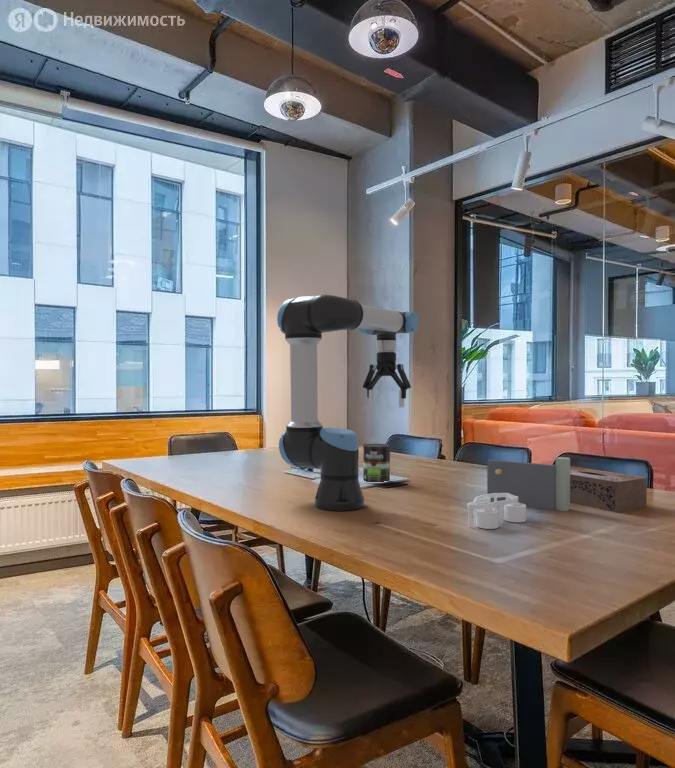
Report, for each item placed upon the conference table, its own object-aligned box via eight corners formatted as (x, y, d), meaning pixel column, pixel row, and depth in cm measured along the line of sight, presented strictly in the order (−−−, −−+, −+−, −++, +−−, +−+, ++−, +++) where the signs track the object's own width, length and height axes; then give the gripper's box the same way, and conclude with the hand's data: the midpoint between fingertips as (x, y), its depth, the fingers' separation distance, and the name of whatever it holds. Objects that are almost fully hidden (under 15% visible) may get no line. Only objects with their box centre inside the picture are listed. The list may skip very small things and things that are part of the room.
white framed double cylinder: (484, 537, 143) (484, 508, 143) (451, 528, 152) (451, 500, 152) (534, 525, 155) (534, 498, 155) (501, 517, 164) (501, 491, 164)
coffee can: (387, 485, 212) (387, 447, 212) (360, 483, 215) (360, 446, 215) (392, 480, 222) (392, 443, 221) (366, 479, 225) (366, 443, 224)
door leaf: (563, 517, 163) (563, 460, 163) (484, 506, 176) (484, 454, 176) (571, 511, 170) (571, 457, 170) (495, 501, 184) (495, 451, 184)
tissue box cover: (542, 500, 186) (542, 469, 186) (571, 496, 194) (571, 466, 194) (617, 517, 164) (617, 482, 164) (646, 511, 172) (646, 477, 172)
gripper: (419, 351, 219) (419, 407, 219) (364, 353, 233) (364, 405, 234) (409, 350, 213) (409, 408, 213) (354, 352, 227) (354, 406, 228)
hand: (386, 406), depth 223 cm, fingers open, 13 cm apart
